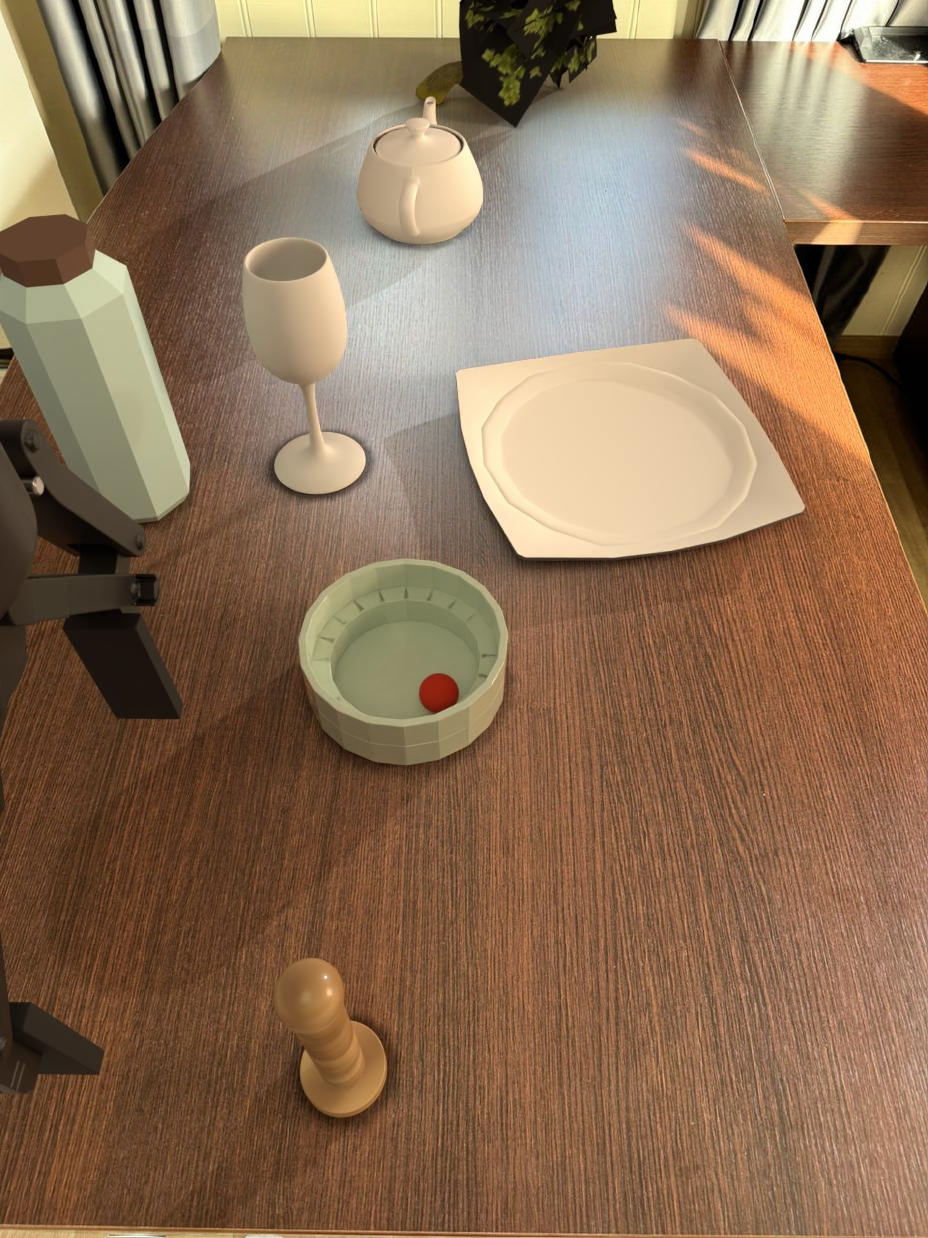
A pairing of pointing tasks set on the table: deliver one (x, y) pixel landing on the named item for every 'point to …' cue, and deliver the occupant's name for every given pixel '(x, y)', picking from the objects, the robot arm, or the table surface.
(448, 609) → the bowl
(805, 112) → the table surface
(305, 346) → the wineglass
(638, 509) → the plate
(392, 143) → the teapot
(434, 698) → the tomato
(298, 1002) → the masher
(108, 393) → the water bottle
